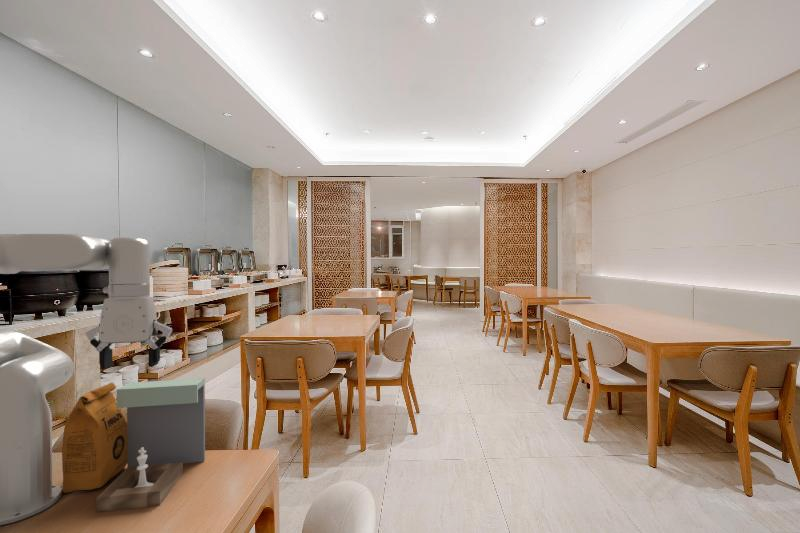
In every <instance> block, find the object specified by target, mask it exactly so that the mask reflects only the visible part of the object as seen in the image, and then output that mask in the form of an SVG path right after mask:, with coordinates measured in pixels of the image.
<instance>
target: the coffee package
mask: <svg viewBox="0 0 800 533" xmlns="http://www.w3.org/2000/svg"><path fill="white" fill-rule="evenodd" d="M115 389H117V386H116V385H115V383H114V382H113V381H112V382H109V383H107V384H104V385H103V386H100V387H98V388H95V389H93V390H90V391H88V392H87V393H85V394H83V395H81V396H80V397H79V398H78V400H77V402H76V404H75V405H74V406H73V408H72V410H71V412H70V413H69V414H68V417H67V418H66V421H65V423H64V428H63V433H62V448H61V449H62V450H61V464H62V465H61V466H62V469H61V470H62V493H63V494H68V493H71V492H72V493H73V492H77V491H83V490H84V491H91V490H95V489H99V488H102V487H103V486H104V485H106V483H107V482H108V481H109V480H110V481H111V479H112V478H114V476H116V475H118V474H119V472H121V471H122V470H123V469H124V468H125V467H126V466H127V414H125V412H124V411H123V408H117V399H116V398H115V396H114V393H112V391H114V390H115Z"/></svg>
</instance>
